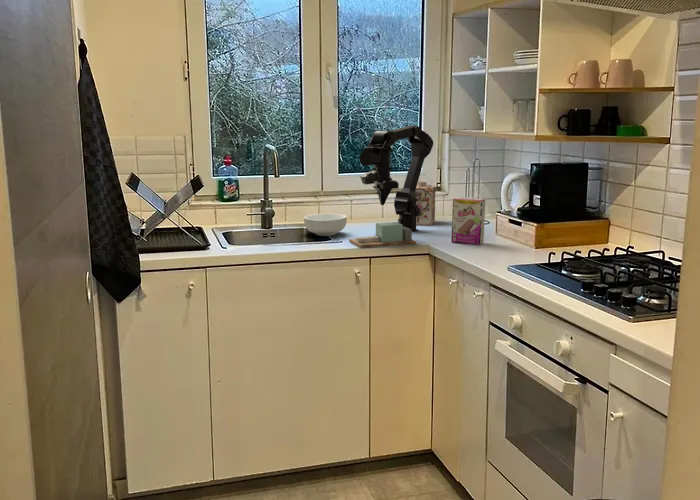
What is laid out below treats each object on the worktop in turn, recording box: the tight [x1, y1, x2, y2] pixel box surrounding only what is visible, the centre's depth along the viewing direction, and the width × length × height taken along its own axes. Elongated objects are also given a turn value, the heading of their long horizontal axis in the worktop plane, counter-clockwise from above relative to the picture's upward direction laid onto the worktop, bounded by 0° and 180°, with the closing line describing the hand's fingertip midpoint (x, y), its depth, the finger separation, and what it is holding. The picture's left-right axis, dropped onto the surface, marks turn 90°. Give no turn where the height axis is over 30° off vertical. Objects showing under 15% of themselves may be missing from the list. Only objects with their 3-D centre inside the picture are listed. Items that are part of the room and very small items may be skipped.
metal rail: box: [355, 235, 403, 243], centre depth 263 cm, size 20×3×2 cm, turn 108°
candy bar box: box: [451, 196, 486, 246], centre depth 263 cm, size 11×5×16 cm, turn 65°
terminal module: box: [375, 221, 403, 242], centre depth 264 cm, size 8×6×6 cm
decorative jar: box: [415, 180, 437, 226], centre depth 306 cm, size 12×12×18 cm
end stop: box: [402, 227, 413, 241], centre depth 266 cm, size 2×7×4 cm, turn 18°
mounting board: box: [348, 238, 418, 249], centre depth 263 cm, size 22×12×1 cm, turn 108°
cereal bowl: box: [303, 213, 347, 237], centre depth 281 cm, size 17×17×7 cm
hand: (382, 204), depth 276 cm, fingers closed
